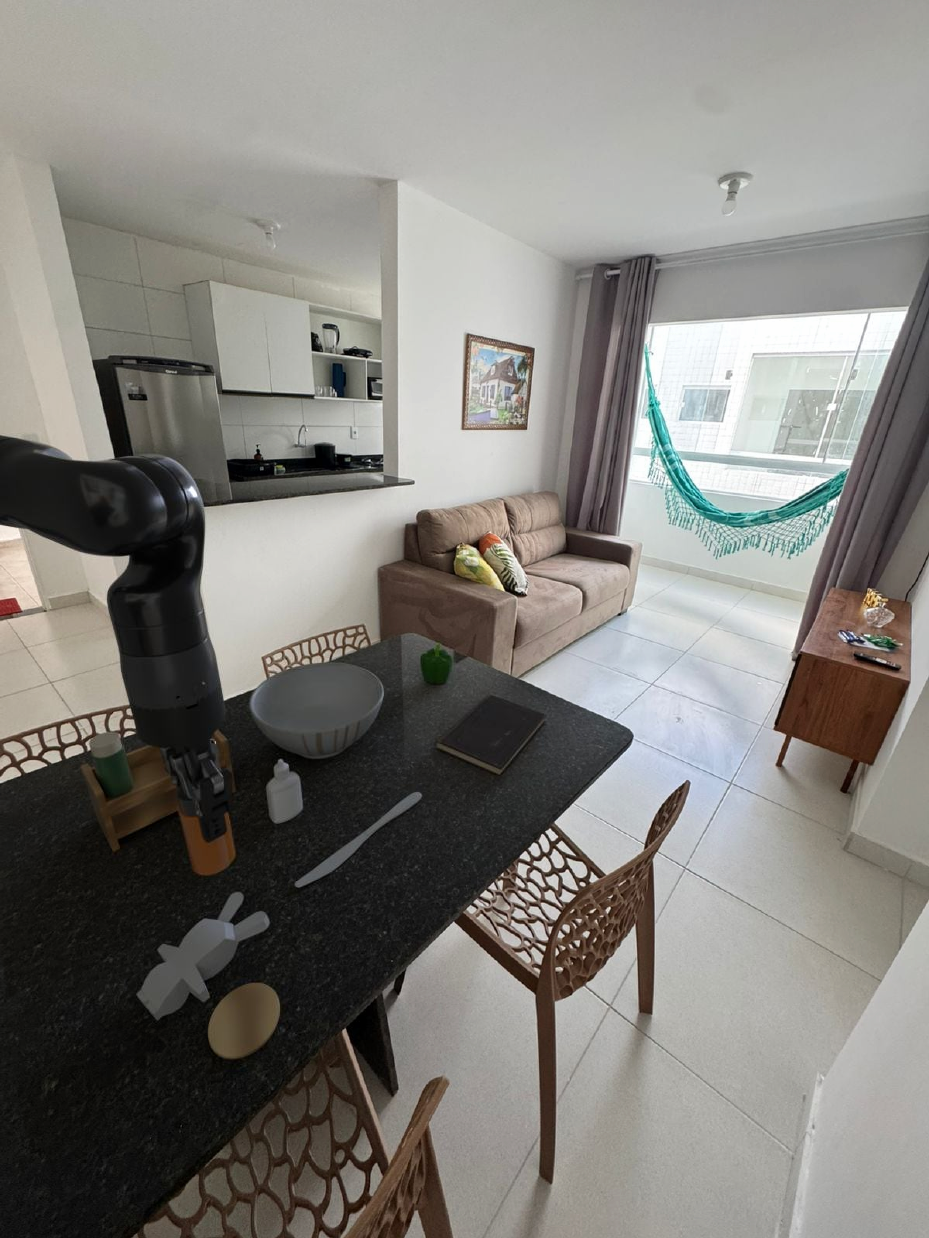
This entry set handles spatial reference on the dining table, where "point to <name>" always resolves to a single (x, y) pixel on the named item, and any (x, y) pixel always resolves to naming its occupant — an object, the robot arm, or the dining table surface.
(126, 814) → the spice rack
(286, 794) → the eye dropper bottle
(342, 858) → the butter knife
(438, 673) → the bell pepper
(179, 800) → the amber spice bottle
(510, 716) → the hardcover book
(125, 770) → the green spice bottle
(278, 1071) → the dining table surface
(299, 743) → the decorative bowl
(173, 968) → the bunny figurine
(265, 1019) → the cork coaster
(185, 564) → the robot arm
